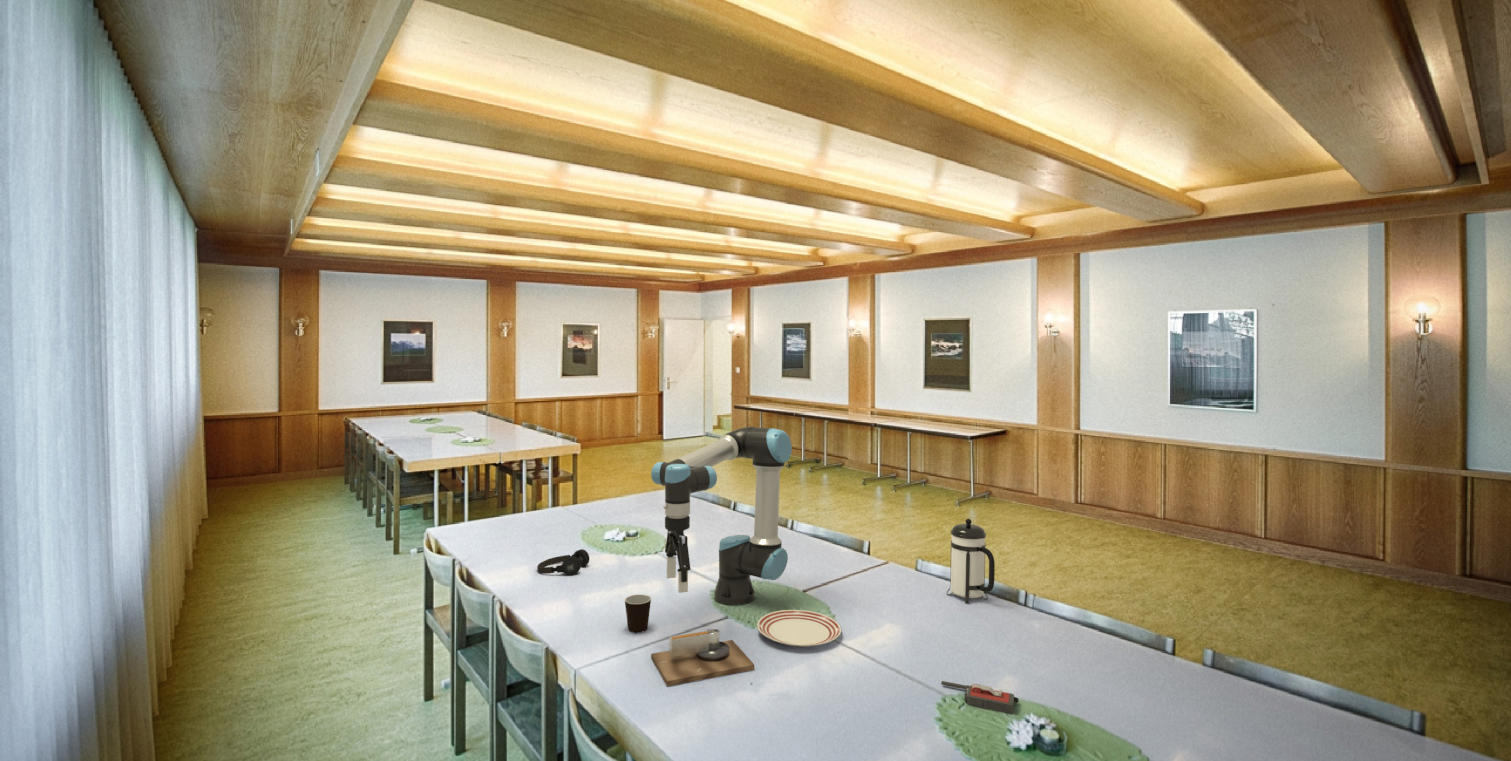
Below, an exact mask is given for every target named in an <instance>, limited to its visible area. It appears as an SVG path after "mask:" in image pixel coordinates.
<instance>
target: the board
mask: <svg viewBox="0 0 1511 761" xmlns="http://www.w3.org/2000/svg"><path fill="white" fill-rule="evenodd" d="M721 642H724V643H726V644H727V645H728V646H729V655H728V656H727V657H726V658H724V659H721V660H715V661H708V660H703V659H700V658H698V657H697V656H696V653H692V654H687V655H681V656H675V657H671V655H670V654H669V650H665V651H660V652H654V653H651V654H650V657H651V658H650V659H651V660H652V662H653V665H655V667H656V670H657V671H658V673H659V675H660V677H661V678H662V680H663V681H664V684H665V685H666V687H672V686H677V685H682V684H688V683H693V682H697V681H703V680H709V679H713V678H718V677H724V676H725V677H726V676H730V675H734V674H739V673H744V672H750V671H754V670H755V663H754V662H753V661H752V660H751V659H750V658H749V657H748V656H747V654H746V653H745V652H744V651H743V650H742V649H741V648H740V647H739V645H738V644H737V643H736V642H735V641H734V640H733V639H729V640H723V641H721Z"/></svg>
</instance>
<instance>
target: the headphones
mask: <svg viewBox="0 0 1511 761" xmlns="http://www.w3.org/2000/svg"><path fill="white" fill-rule="evenodd" d="M590 558H591V557H590V554H589V552H588V551H587V550H586V549H583V548H581V549H578V550H575V551H574V553H572V554H571V555H570V554H566V555H560V556H554V557H551V558H550V557H549V558H548V559H546V560H543V561H542V562H540V563H539V564H537V566H536V567H537V573H538V574H555V572H556V573H557V574H558V573H563V574H565V575H566V576H575V575H576V574H577V573H578V572H580V570H581V568H585V567H586V566H587V565H588V564H589V563H590ZM558 563H562V564H560V565H559V564H558ZM554 564H558V565H555V566H556V567H554V566H551V565H554Z"/></svg>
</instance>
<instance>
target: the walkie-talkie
mask: <svg viewBox="0 0 1511 761" xmlns="http://www.w3.org/2000/svg"><path fill="white" fill-rule="evenodd" d="M940 684H941V685H942V686H947V687H951V688H957V689H962V690H966V692H964V698H963V699H964V701H965V702H966V705H968V706H969V707H974V708H975V707H976V708H980V709H984V710H989V711H990V710H991V711H994V712H995V711H996V712H999V713H1000V712H1001V713H1005V714H1010V715H1012V714H1014V706H1015V703H1016V704H1017V703H1019V698H1018V697H1015V694H1013V693H1010V692H1005V691H1003V690H1002V689H999V690H995V689H993V688H992V686H988V685H982V684H979V683H971V685H970V684H969V685H968V684H966V685H965V684H961V683H960V684H959V683H955V682H948V681H944V680H941V683H940Z"/></svg>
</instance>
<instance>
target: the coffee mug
mask: <svg viewBox="0 0 1511 761" xmlns="http://www.w3.org/2000/svg"><path fill="white" fill-rule="evenodd" d="M651 602H652V597H651V596H649V595H647V594H633V595H629V596H627V597H625V598H624V605H625V614H626V623H627V631H628V632H630V633H632V634H633V633H634V634H639V633H644V632H646V631H647V630H648V627H649V618H650V610H651V604H652V603H651Z"/></svg>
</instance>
